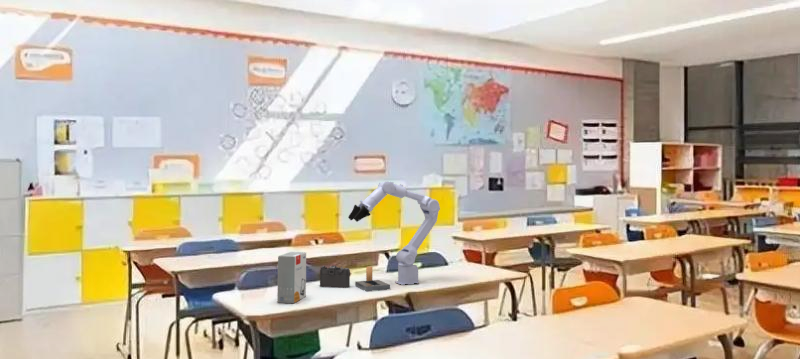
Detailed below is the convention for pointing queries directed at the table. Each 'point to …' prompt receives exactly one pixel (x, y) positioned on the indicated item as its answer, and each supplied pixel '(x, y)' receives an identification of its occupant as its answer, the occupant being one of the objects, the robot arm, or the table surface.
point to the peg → (368, 273)
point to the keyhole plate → (369, 285)
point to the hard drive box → (291, 277)
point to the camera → (334, 277)
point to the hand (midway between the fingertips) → (352, 219)
